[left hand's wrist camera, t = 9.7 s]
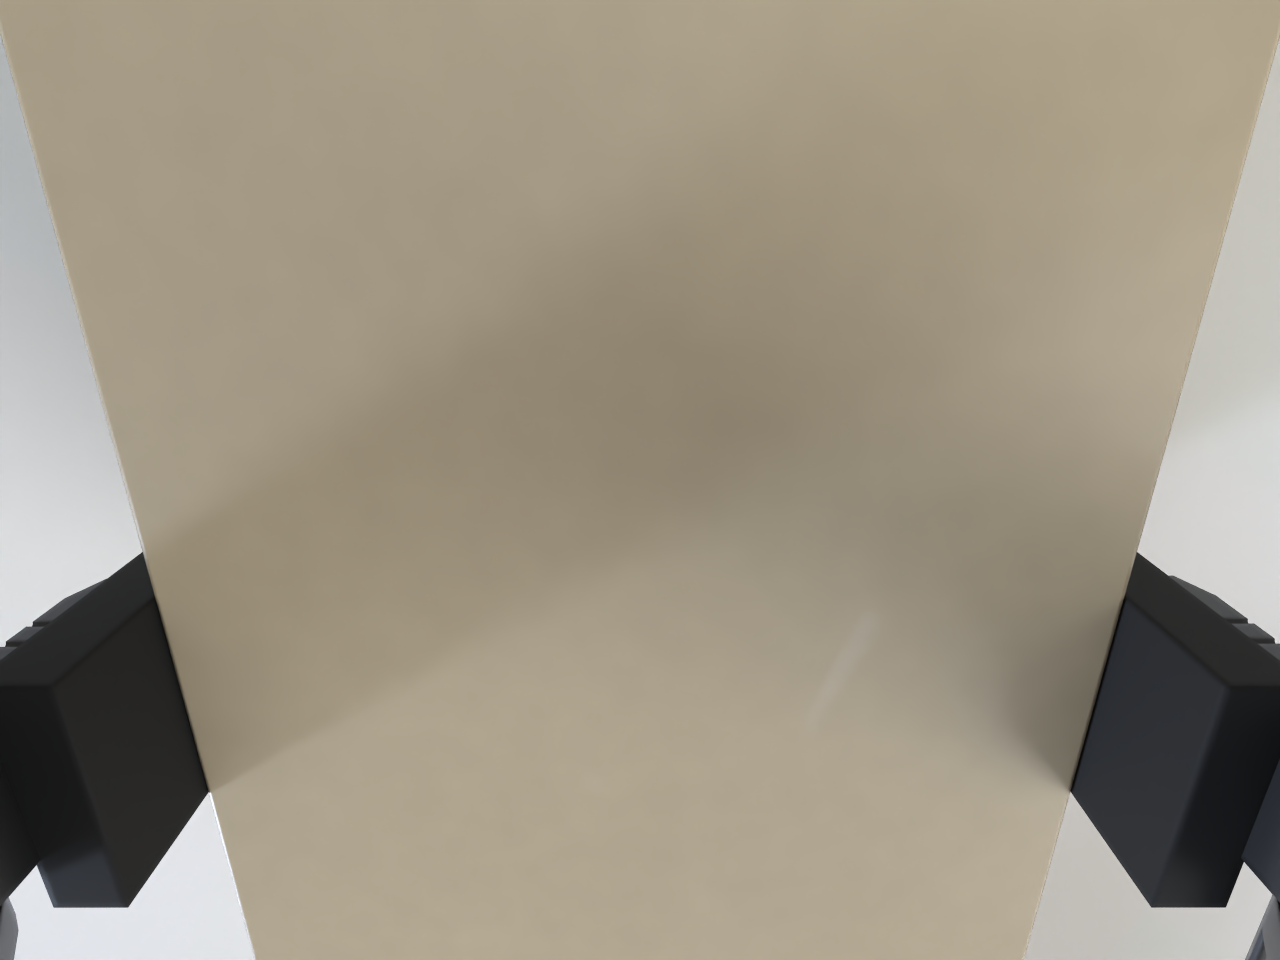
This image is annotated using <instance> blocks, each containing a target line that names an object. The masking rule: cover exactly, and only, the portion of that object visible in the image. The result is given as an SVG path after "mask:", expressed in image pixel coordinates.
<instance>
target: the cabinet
mask: <svg viewBox="0 0 1280 960" xmlns="http://www.w3.org/2000/svg"><path fill="white" fill-rule="evenodd" d="M0 34H1V38H2V41H3V45H4V48H5V52H6V56H7V59H8V63H9V67H10V70H11V74H12V78H13V81H14V85H15V88H16V92H17V96H18V99H19V103H20V107H21V110H22V114H23V118H24V121H25V125H26V129H27V132H28V136H29V139H30V143H31V147H32V150H33V154H34V158H35V161H36V165H37V169H38V172H39V176H40V180H41V183H42V187H43V190H44V194H45V198H46V201H47V205H48V209H49V212H50V216H51V220H52V223H53V227H54V230H55V234H56V238H57V241H58V245H59V249H60V252H61V256H62V260H63V263H64V267H65V271H66V274H67V278H68V281H69V285H70V289H71V292H72V296H73V300H74V303H75V307H76V311H77V314H78V318H79V322H80V325H81V329H82V332H83V336H84V340H85V343H86V347H87V351H88V354H89V358H90V362H91V365H92V369H93V372H94V376H95V380H96V383H97V387H98V391H99V394H100V398H101V402H102V405H103V409H104V413H105V416H106V420H107V423H108V427H109V431H110V434H111V438H112V442H113V445H114V449H115V453H116V456H117V460H118V464H119V467H120V471H121V474H122V478H123V482H124V485H125V489H126V493H127V496H128V500H129V504H130V507H131V511H132V514H133V518H134V522H135V525H136V529H137V533H138V536H139V540H140V544H141V547H142V551H143V555H144V558H145V562H146V565H147V569H148V573H149V576H150V580H151V584H152V587H153V591H154V595H155V598H156V602H157V606H158V609H159V613H160V616H161V620H162V624H163V627H164V631H165V635H166V638H167V642H168V646H169V649H170V653H171V656H172V660H173V664H174V667H175V671H176V675H177V678H178V682H179V686H180V689H181V693H182V697H183V700H184V704H185V707H186V711H187V715H188V718H189V722H190V726H191V729H192V733H193V737H194V740H195V744H196V747H197V751H198V755H199V758H200V762H201V766H202V769H203V773H204V777H205V780H206V784H207V788H208V791H209V795H210V798H211V802H212V806H213V809H214V813H215V817H216V820H217V824H218V828H219V831H220V835H221V839H222V842H223V846H224V849H225V853H226V857H227V860H228V864H229V868H230V871H231V875H232V879H233V882H234V886H235V889H236V893H237V897H238V900H239V904H240V908H241V911H242V915H243V919H244V922H245V926H246V930H247V933H248V937H249V940H250V944H251V948H252V951H253V955H254V959H255V960H1024V957H1025V953H1026V949H1027V946H1028V942H1029V939H1030V935H1031V931H1032V928H1033V924H1034V921H1035V917H1036V913H1037V910H1038V906H1039V903H1040V899H1041V895H1042V892H1043V888H1044V885H1045V881H1046V877H1047V874H1048V870H1049V867H1050V863H1051V859H1052V856H1053V852H1054V848H1055V845H1056V841H1057V838H1058V834H1059V830H1060V827H1061V823H1062V820H1063V816H1064V812H1065V809H1066V805H1067V802H1068V798H1069V794H1070V791H1071V787H1072V784H1073V780H1074V776H1075V773H1076V769H1077V766H1078V762H1079V758H1080V755H1081V751H1082V747H1083V744H1084V740H1085V737H1086V733H1087V729H1088V726H1089V722H1090V719H1091V715H1092V711H1093V708H1094V704H1095V701H1096V697H1097V693H1098V690H1099V686H1100V683H1101V679H1102V675H1103V672H1104V668H1105V665H1106V661H1107V657H1108V654H1109V650H1110V646H1111V643H1112V639H1113V636H1114V632H1115V628H1116V625H1117V621H1118V618H1119V614H1120V610H1121V607H1122V603H1123V600H1124V596H1125V592H1126V589H1127V585H1128V582H1129V578H1130V574H1131V571H1132V567H1133V564H1134V560H1135V556H1136V553H1137V549H1138V545H1139V542H1140V538H1141V535H1142V531H1143V527H1144V524H1145V520H1146V517H1147V513H1148V509H1149V506H1150V502H1151V499H1152V495H1153V491H1154V488H1155V484H1156V481H1157V477H1158V473H1159V470H1160V466H1161V463H1162V459H1163V455H1164V452H1165V448H1166V444H1167V441H1168V437H1169V434H1170V430H1171V426H1172V423H1173V419H1174V416H1175V412H1176V408H1177V405H1178V401H1179V398H1180V394H1181V390H1182V387H1183V383H1184V380H1185V376H1186V372H1187V369H1188V365H1189V362H1190V358H1191V354H1192V351H1193V347H1194V343H1195V340H1196V336H1197V333H1198V329H1199V325H1200V322H1201V318H1202V315H1203V311H1204V307H1205V304H1206V300H1207V297H1208V293H1209V289H1210V286H1211V282H1212V279H1213V275H1214V271H1215V268H1216V264H1217V261H1218V257H1219V253H1220V250H1221V246H1222V242H1223V239H1224V235H1225V232H1226V228H1227V224H1228V221H1229V217H1230V214H1231V210H1232V206H1233V203H1234V199H1235V196H1236V192H1237V188H1238V185H1239V181H1240V178H1241V174H1242V170H1243V167H1244V163H1245V159H1246V156H1247V152H1248V149H1249V145H1250V141H1251V138H1252V134H1253V131H1254V127H1255V123H1256V120H1257V116H1258V113H1259V109H1260V105H1261V102H1262V98H1263V95H1264V91H1265V87H1266V84H1267V80H1268V77H1269V73H1270V69H1271V66H1272V62H1273V58H1274V55H1275V51H1276V48H1277V44H1278V40H1279V37H1280V0H0Z"/></svg>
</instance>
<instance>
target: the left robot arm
mask: <svg viewBox="0 0 1280 960" xmlns="http://www.w3.org/2000/svg"><path fill="white" fill-rule="evenodd" d="M1274 640H1275V639H1274V638H1273V637H1272V636H1270V635H1269V634H1268V633H1266V632H1265V631H1263V630H1262V629H1261V628H1259V627H1258V626H1257V625H1255V624H1248V619H1247V618H1246V617H1244V616H1243V615H1242V614H1240V613H1239V612H1237V611H1236V610H1235V609H1233V608H1232V607H1231V606H1229V605H1228V604H1226V603H1225V602H1224V601H1222V600H1221V599H1220V598H1218V597H1217V596H1215V595H1213V594H1211V593H1209V592H1207V591H1205V590H1203V589H1200V588H1198V587H1196V586H1194V585H1192V584H1190V583H1188V582H1185V581H1183V580H1181V579H1179V578H1177V577H1175V576H1168V575H1166V574H1165V573H1164V572H1163V571H1161V570H1160V569H1159V568H1157V567H1156V566H1155V565H1153V564H1152V563H1151V562H1149V561H1148V560H1147V559H1145V558H1144V557H1143V556H1141V555H1140V554H1139V553H1136V556H1135V560H1134V564H1133V567H1132V571H1131V574H1130V578H1129V582H1128V585H1127V589H1126V592H1125V596H1124V600H1123V603H1122V607H1121V610H1120V614H1119V618H1118V621H1117V625H1116V628H1115V632H1114V636H1113V639H1112V643H1111V646H1110V650H1109V654H1108V657H1107V661H1106V665H1105V668H1104V672H1103V675H1102V679H1101V683H1100V686H1099V690H1098V693H1097V697H1096V701H1095V704H1094V708H1093V711H1092V715H1091V719H1090V722H1089V726H1088V729H1087V733H1086V737H1085V740H1084V744H1083V747H1082V751H1081V755H1080V758H1079V762H1078V766H1077V769H1076V773H1075V776H1074V780H1073V784H1072V787H1071V793H1072V794H1073V796H1074V797H1075V799H1076V800H1077V801H1078V803H1079V804H1080V806H1081V807H1082V809H1083V810H1084V811H1085V813H1086V814H1087V816H1088V817H1089V819H1090V820H1091V821H1092V823H1093V824H1094V826H1095V827H1096V829H1097V830H1098V831H1099V833H1100V834H1101V836H1102V837H1103V839H1104V840H1105V842H1106V843H1107V844H1108V846H1109V847H1110V849H1111V850H1112V852H1113V853H1114V854H1115V856H1116V857H1117V859H1118V860H1119V862H1120V863H1121V864H1122V866H1123V867H1124V869H1125V870H1126V872H1127V873H1128V874H1129V876H1130V877H1131V879H1132V880H1133V882H1134V883H1135V884H1136V886H1137V887H1138V889H1139V890H1140V892H1141V893H1142V895H1143V896H1144V897H1145V899H1146V900H1147V902H1148V903H1149V905H1150V906H1151V907H1226V906H1227V903H1228V901H1229V898H1230V895H1231V893H1232V890H1233V888H1234V885H1235V883H1236V880H1237V878H1238V875H1239V873H1240V870H1241V868H1242V865H1243V863H1244V862H1245V863H1246V864H1247V866H1248V867H1249V868H1250V869H1251V870H1252V871H1253V872H1254V874H1255V875H1256V876H1257V877H1258V878H1259V879H1260V880H1261V881H1262V883H1263V884H1264V885H1265V886H1266V887H1267V888H1268V889H1269V891H1270V892H1271V893H1272V894H1273V895H1272V897H1271V900H1270V902H1269V905H1268V907H1267V909H1266V912H1265V914H1264V916H1263V919H1262V921H1261V923H1260V926H1259V928H1258V931H1257V933H1256V935H1255V938H1254V940H1253V942H1252V945H1251V947H1250V949H1249V952H1248V954H1247V957H1246V959H1245V960H1280V644H1275V641H1274ZM208 792H209V791H208V788H207V784H206V780H205V777H204V773H203V769H202V766H201V762H200V758H199V755H198V751H197V747H196V744H195V740H194V737H193V733H192V729H191V726H190V722H189V718H188V715H187V711H186V707H185V704H184V700H183V697H182V693H181V689H180V686H179V682H178V678H177V675H176V671H175V667H174V664H173V660H172V656H171V653H170V649H169V646H168V642H167V638H166V635H165V631H164V627H163V624H162V620H161V616H160V613H159V609H158V606H157V602H156V598H155V595H154V591H153V587H152V584H151V580H150V576H149V573H148V569H147V565H146V562H145V558H144V555H143V552H142V553H141V554H139V555H138V556H137V557H135V558H134V559H133V560H131V561H130V562H129V563H128V564H126V565H125V566H124V567H122V568H121V569H120V570H118V571H117V572H116V573H114V574H113V575H112V576H110V577H109V578H108V579H105V580H103V581H101V582H99V583H97V584H95V585H92V586H90V587H88V588H86V589H84V590H82V591H80V592H77V593H75V594H73V595H71V596H69V597H67V598H65V599H63V600H62V601H61V602H59V603H58V604H57V605H55V606H54V607H52V608H51V609H50V610H48V611H47V612H46V613H44V614H43V615H42V616H40V617H39V618H38V619H36V620H35V621H33V626H32V627H25V628H24V629H23V630H21V631H20V632H19V633H17V634H16V635H14V636H13V637H12V638H10V639H9V640H8V641H6V646H5V647H0V960H14V954H15V948H16V942H17V936H18V925H17V920H16V914H15V912H14V909H13V907H12V905H11V902H10V900H9V896H10V895H11V893H12V892H13V891H14V890H15V889H16V888H17V887H18V885H19V884H20V883H21V882H22V881H23V880H24V879H25V877H26V876H27V875H28V874H29V873H30V872H31V871H32V869H33V868H34V867H35V866H36V865H37V867H38V869H39V872H40V874H41V877H42V879H43V882H44V884H45V887H46V889H47V892H48V894H49V897H50V899H51V902H52V904H53V907H54V908H77V907H129V905H130V904H131V902H132V901H133V900H134V898H135V897H136V895H137V894H138V892H139V891H140V890H141V888H142V887H143V885H144V884H145V882H146V881H147V880H148V878H149V877H150V875H151V874H152V872H153V871H154V870H155V868H156V867H157V865H158V864H159V862H160V861H161V859H162V858H163V857H164V855H165V854H166V852H167V851H168V849H169V848H170V847H171V845H172V844H173V842H174V841H175V839H176V838H177V837H178V835H179V834H180V832H181V831H182V829H183V828H184V827H185V825H186V824H187V822H188V821H189V819H190V818H191V817H192V815H193V814H194V812H195V811H196V809H197V808H198V806H199V805H200V804H201V802H202V801H203V799H204V798H205V796H206V795H207V794H208Z"/></svg>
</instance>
